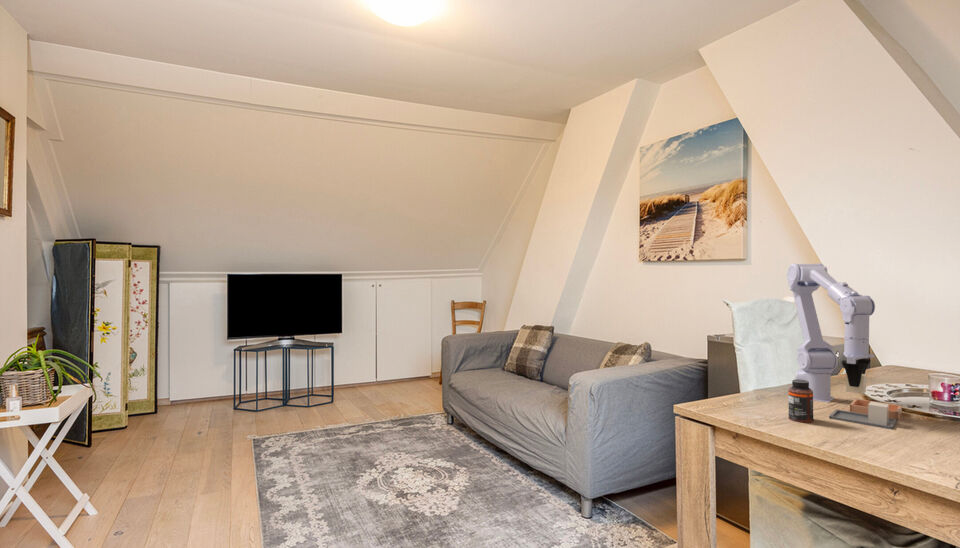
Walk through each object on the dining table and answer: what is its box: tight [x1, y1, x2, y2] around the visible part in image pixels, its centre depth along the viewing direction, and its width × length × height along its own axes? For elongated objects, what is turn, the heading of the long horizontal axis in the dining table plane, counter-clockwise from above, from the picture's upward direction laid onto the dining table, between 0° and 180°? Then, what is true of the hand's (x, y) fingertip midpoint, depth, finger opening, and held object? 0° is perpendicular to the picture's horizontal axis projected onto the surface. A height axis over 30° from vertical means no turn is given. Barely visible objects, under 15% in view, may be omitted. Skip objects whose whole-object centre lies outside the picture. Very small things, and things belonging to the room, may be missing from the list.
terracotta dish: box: [849, 398, 903, 421], centre depth 151 cm, size 11×9×2 cm
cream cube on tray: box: [868, 401, 890, 426], centre depth 142 cm, size 4×4×5 cm
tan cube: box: [845, 373, 867, 395], centre depth 149 cm, size 4×4×5 cm
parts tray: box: [828, 409, 898, 430], centre depth 144 cm, size 14×9×1 cm, turn 46°
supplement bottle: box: [787, 379, 814, 424], centre depth 145 cm, size 6×6×11 cm
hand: (855, 384), depth 149 cm, fingers closed on tan cube, 4 cm apart
